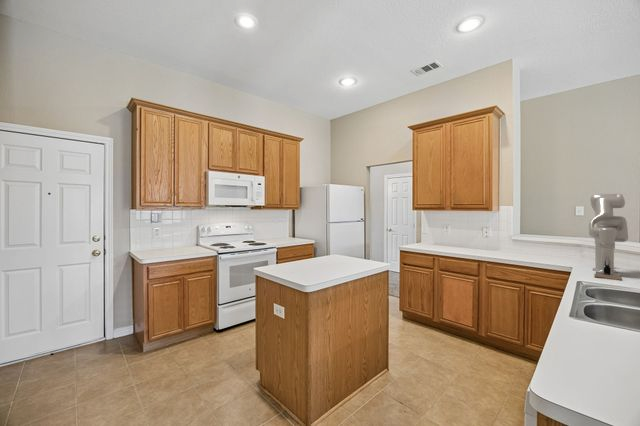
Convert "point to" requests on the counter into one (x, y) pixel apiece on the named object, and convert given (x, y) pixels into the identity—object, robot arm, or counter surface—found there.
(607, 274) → the hinge leaf
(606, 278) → the hinge base
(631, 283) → the counter surface
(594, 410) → the counter surface
